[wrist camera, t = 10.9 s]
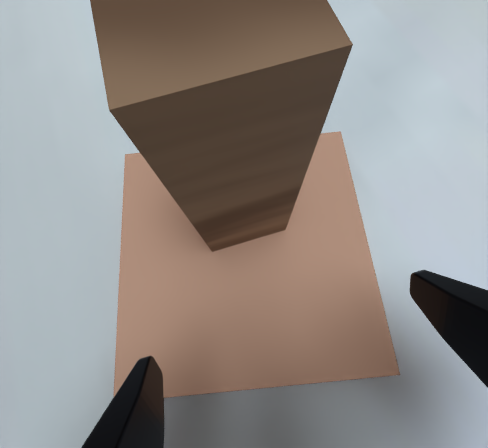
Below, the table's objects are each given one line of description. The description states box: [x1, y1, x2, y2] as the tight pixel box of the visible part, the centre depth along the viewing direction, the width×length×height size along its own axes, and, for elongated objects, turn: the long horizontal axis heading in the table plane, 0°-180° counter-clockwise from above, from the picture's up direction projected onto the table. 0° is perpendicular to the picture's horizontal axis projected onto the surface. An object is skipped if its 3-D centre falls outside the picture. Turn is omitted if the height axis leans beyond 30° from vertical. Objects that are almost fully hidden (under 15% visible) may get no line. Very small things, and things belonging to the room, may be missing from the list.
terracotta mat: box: [114, 132, 400, 398], centre depth 18 cm, size 16×16×1 cm
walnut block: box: [90, 0, 353, 252], centre depth 12 cm, size 5×5×13 cm
